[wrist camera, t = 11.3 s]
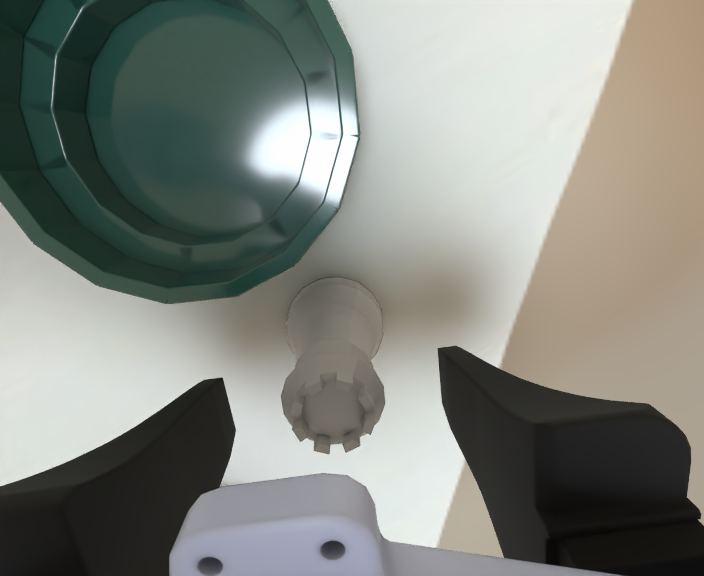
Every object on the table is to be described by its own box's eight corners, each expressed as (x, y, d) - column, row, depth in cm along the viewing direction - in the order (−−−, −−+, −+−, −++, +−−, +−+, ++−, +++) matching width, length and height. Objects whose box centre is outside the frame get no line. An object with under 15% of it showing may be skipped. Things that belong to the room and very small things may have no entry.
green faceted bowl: (-4, 149, 17) (-115, 145, 13) (155, -134, 15) (80, -253, 11) (242, 321, 20) (215, 365, 16) (413, 104, 17) (437, 86, 13)
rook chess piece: (313, 257, 19) (297, 322, 11) (399, 300, 20) (437, 388, 12) (272, 338, 20) (231, 446, 13) (354, 376, 21) (363, 501, 13)
